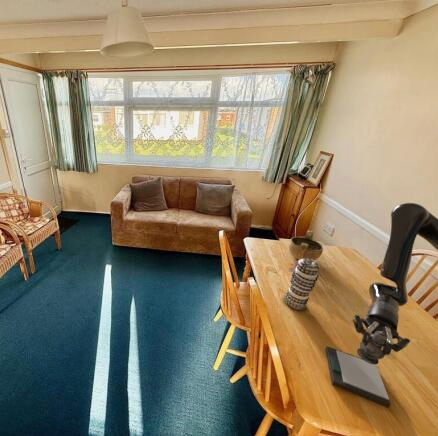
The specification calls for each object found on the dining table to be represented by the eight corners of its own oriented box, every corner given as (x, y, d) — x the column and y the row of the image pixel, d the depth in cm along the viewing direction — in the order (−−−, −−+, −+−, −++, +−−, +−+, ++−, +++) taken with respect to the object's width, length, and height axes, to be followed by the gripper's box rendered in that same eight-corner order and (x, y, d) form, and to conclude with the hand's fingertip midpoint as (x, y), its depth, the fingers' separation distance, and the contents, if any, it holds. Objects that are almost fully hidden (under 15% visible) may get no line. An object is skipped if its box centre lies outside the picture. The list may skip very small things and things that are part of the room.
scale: (371, 368, 81) (376, 362, 79) (386, 409, 70) (392, 403, 68) (324, 351, 87) (327, 344, 85) (330, 386, 76) (334, 380, 74)
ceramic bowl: (290, 246, 154) (296, 226, 148) (320, 255, 144) (328, 234, 138) (281, 260, 139) (288, 239, 133) (315, 272, 129) (323, 250, 123)
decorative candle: (309, 314, 103) (327, 269, 92) (287, 311, 104) (302, 267, 93) (300, 299, 111) (316, 256, 100) (280, 296, 112) (294, 254, 102)
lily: (281, 276, 127) (291, 269, 120) (285, 260, 134) (295, 253, 126) (303, 287, 124) (315, 281, 117) (306, 270, 131) (318, 263, 123)
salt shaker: (376, 369, 71) (394, 343, 65) (353, 354, 75) (368, 329, 70) (381, 358, 74) (399, 333, 68) (359, 344, 78) (373, 320, 73)
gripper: (360, 297, 83) (350, 325, 73) (417, 321, 73) (415, 357, 63) (352, 312, 86) (342, 340, 76) (406, 337, 77) (402, 373, 66)
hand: (375, 347), depth 70 cm, fingers closed on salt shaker, 3 cm apart
